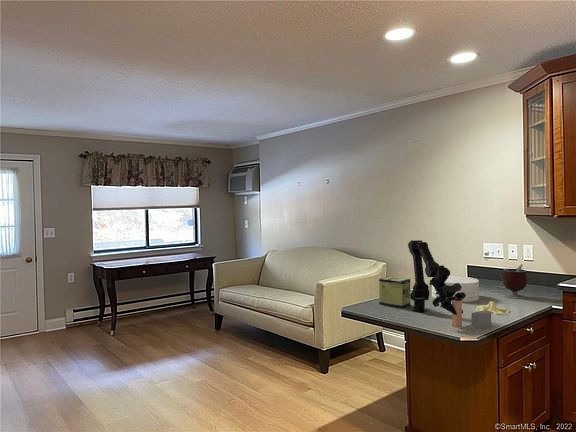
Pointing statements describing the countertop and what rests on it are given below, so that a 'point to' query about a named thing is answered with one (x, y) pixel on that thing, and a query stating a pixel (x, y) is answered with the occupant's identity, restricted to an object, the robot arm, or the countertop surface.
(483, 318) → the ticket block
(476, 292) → the plate stack
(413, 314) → the countertop surface
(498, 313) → the cloth
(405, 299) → the protein box
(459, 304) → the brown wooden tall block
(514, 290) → the mate gourd
